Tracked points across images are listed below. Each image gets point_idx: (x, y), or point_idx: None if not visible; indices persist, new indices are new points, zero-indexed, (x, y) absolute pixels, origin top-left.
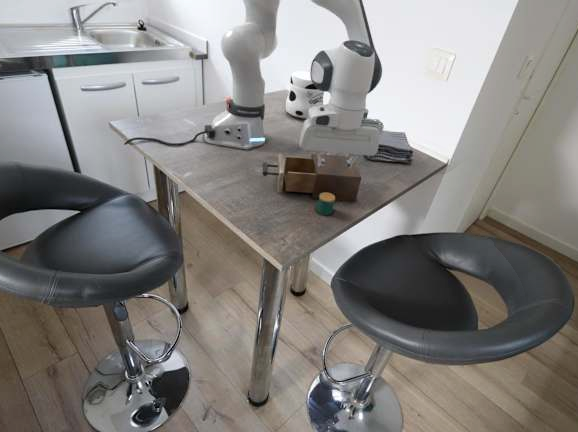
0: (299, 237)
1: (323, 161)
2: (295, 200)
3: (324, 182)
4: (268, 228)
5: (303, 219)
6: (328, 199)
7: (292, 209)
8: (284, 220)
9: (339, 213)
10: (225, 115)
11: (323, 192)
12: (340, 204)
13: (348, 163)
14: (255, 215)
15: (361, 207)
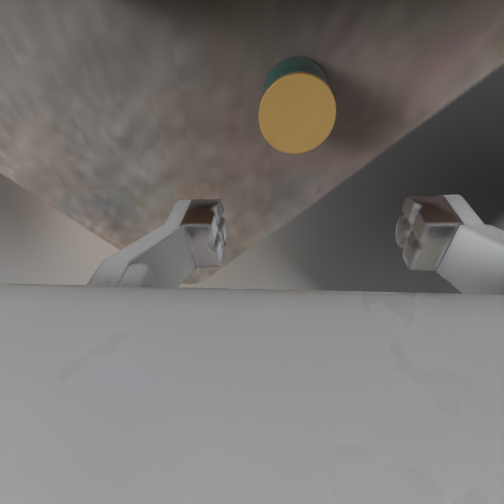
0: None
1: (208, 266)
2: (167, 22)
3: None
4: (127, 208)
5: (214, 160)
6: (297, 143)
7: (169, 104)
8: (158, 172)
9: (356, 103)
10: None
11: (282, 79)
12: (390, 15)
13: (418, 267)
14: (68, 158)
15: (500, 25)
